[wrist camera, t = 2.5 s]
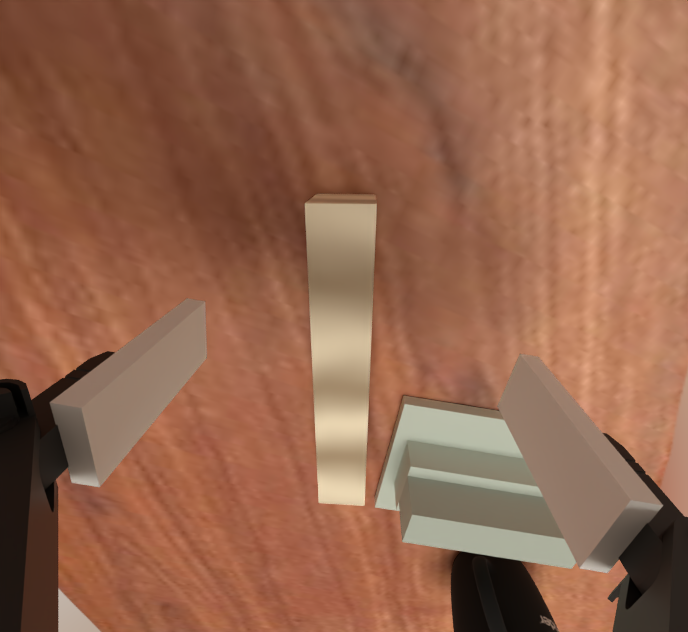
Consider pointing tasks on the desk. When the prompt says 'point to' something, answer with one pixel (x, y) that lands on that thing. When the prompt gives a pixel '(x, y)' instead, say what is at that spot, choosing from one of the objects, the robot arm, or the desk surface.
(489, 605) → the mug
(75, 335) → the desk surface
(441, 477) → the ridge
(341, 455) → the birch bar
